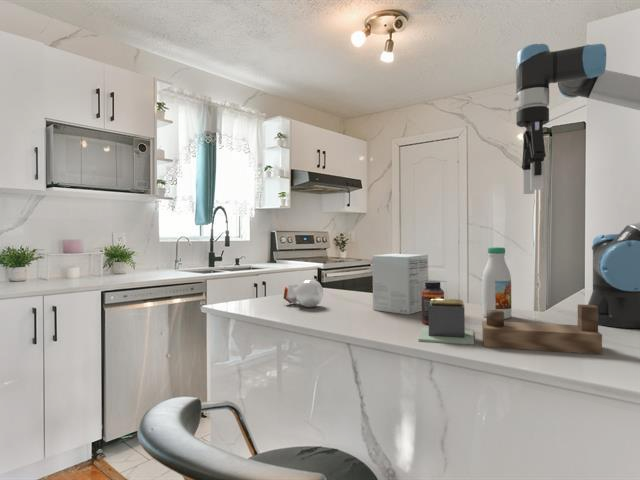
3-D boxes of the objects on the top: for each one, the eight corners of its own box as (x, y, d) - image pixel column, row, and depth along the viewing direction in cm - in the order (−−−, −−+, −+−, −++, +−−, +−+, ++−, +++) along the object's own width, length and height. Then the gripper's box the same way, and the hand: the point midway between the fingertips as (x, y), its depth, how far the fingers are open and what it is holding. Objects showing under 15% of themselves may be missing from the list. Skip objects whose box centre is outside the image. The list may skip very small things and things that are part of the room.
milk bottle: (484, 319, 120) (483, 248, 120) (480, 313, 128) (480, 246, 127) (513, 320, 118) (513, 247, 118) (508, 314, 126) (508, 246, 125)
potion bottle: (319, 313, 138) (288, 313, 149) (333, 293, 144) (303, 294, 155) (304, 292, 135) (274, 293, 146) (320, 272, 141) (290, 274, 152)
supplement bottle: (445, 325, 113) (445, 283, 112) (422, 325, 114) (421, 282, 114) (443, 321, 118) (443, 280, 118) (421, 320, 120) (421, 280, 119)
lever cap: (464, 332, 103) (464, 298, 103) (464, 338, 98) (464, 301, 98) (430, 330, 105) (429, 296, 105) (428, 335, 100) (428, 300, 100)
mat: (472, 332, 105) (472, 330, 105) (474, 344, 94) (474, 342, 94) (422, 329, 109) (422, 327, 109) (418, 341, 98) (418, 338, 98)
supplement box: (429, 308, 137) (429, 254, 137) (408, 315, 127) (408, 256, 127) (394, 304, 146) (393, 253, 146) (371, 310, 136) (371, 255, 136)
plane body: (590, 344, 93) (590, 303, 93) (601, 354, 86) (602, 309, 85) (482, 337, 100) (482, 299, 100) (484, 346, 92) (484, 305, 92)
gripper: (511, 121, 123) (511, 195, 123) (523, 96, 99) (523, 188, 100) (540, 119, 120) (540, 194, 121) (559, 92, 97) (559, 186, 97)
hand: (532, 192), depth 110 cm, fingers open, 13 cm apart
